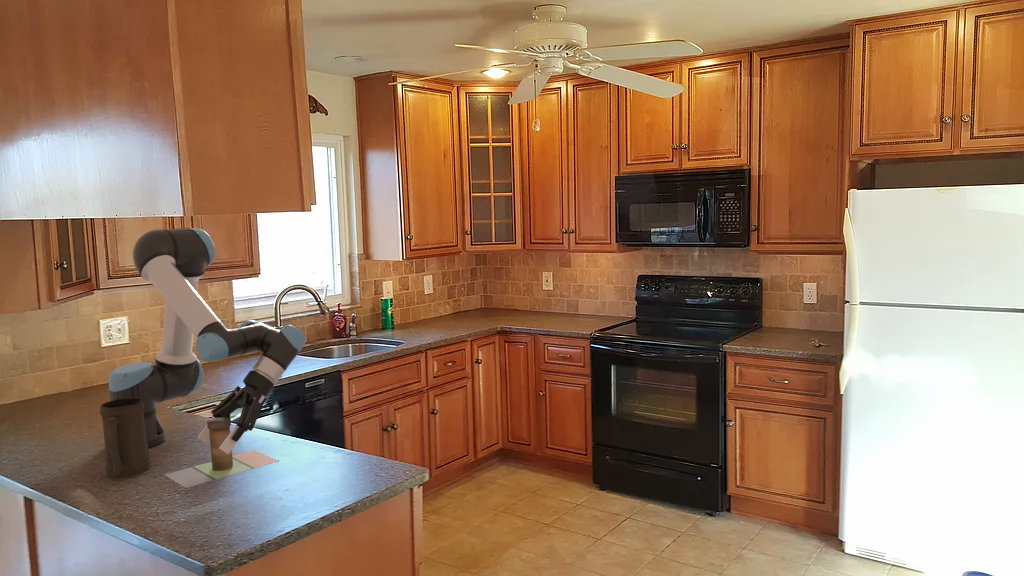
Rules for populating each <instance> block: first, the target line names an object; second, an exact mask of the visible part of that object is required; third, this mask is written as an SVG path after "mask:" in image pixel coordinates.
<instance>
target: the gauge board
mask: <svg viewBox="0 0 1024 576" xmlns="http://www.w3.org/2000/svg"><path fill="white" fill-rule="evenodd" d="M232 459H233V467H232V468H230V469H227V470H223V471H214V470H212V461H210V462H206V463H201V464H197V465H195V466H191V467H187V468H184V469H180V470H175V471H173V472H169V473H165V474H164V476H165V477H167V478H168V479H170V480H172V481H174V482H175V483H176V484H179V485H180V486H181V487H183V488H184V489H188V488H191V487H195V486H198V485H201V484H205V483H209V482H211V481H215V480H218V479H222V478H225V477H228V476H232V475H233V476H234V475H235V474H240V473H242V472H245V471H249V470H253V469H256V468H259V467H262V466H266V465H270V464H273V463H276V462H277V463H279V462H280V460H278V459H276V458H275V457H271V456H270V455H267V454H265V453H262V452H260V451H258V450H256V449H252V450H249V451H245V452H242V453H239V454H238V453H237V454H234V455H232Z"/></svg>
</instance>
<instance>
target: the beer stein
mask: <svg viewBox="0 0 1024 576" xmlns="http://www.w3.org/2000/svg"><path fill="white" fill-rule="evenodd" d="M99 415H100V416H101V420H102V428H103V438H104V439H103V440H104V453H105V455H104V457H105V464H104V469H105V477H106V478H111V479H121V478H129V477H134V476H137V475H140V474H143V473H145V472H147V471H149V470H150V469H151V461H150V460H151V458H150V451H149V447H148V443H147V434H146V425H145V421H144V404H143V401H142V399H140V398H124V399H117V400H113V401H111V400H109V401H106V402H104V403H102V404H101V405H100V408H99Z"/></svg>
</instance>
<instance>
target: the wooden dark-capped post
mask: <svg viewBox="0 0 1024 576" xmlns="http://www.w3.org/2000/svg"><path fill="white" fill-rule="evenodd" d="M206 425H207V427H208V429H209V436H210V439H209V445H210V446H209V447H210V456H211V457H210V458H211V462H212V470H214V471H223V470H227V469H230V468H232V467H233V459H232V456H233V449H232V450H231V451H230V453H229V454H227V453H225V452H224V451H222V450H221V449H219V447H220V446H221V445H222V443H223V442H224V440H225V439H226V438H227V436H228V435H229V434H230V432H231V425H232V421H231V418H230V417H228V416H226V417H221V418H214V419H211V418H210V419H209V420H207V423H206Z"/></svg>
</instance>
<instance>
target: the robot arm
mask: <svg viewBox="0 0 1024 576" xmlns="http://www.w3.org/2000/svg"><path fill="white" fill-rule="evenodd" d="M215 258H216V248H215V244H214V241H213V239H212V238H211V236H210V234H209V233H207V232H206V230H204V229H201V228H199V227H198V228H197V227H184V228H183V227H181V228H168V229H167V228H166V229H165V228H164V229H161V228H160V229H152V230H150V231H149V230H148V231H147V232H145V233H143V234H142V235H141V236H140V237H139V238H138V239H137V240H136V242H135V244H134V247H133V250H132V261H133V264H134V267H135V269H136V271H137V273H138V274H139V276H141V278H142V280H144V281H146V282H148V283H151V284H152V285H153V286H154V287H155V289H156V290H157V291H158V292H159V294H160V295H161V296H162V298H163V299H164V300H165V301H164V302H165V305H164V314H163V315H164V316H163V330H162V341H161V350H160V351H158V352H157V353H156V354H155V357H154V358H155V359H154V360H155V361H154V364H152V363H151V362H150V361H139V362H136V363H129V364H125V365H122V366H120V367H118V368H115V369H114V370H112V371H111V372H110V373H109V375H108V389H109V398H110V401H113V400H117V399H124V398H140V399H142V401H143V404H144V421H145V425H146V434H147V443H148V448H151V447H155V446H157V445H160V444H162V443H163V442H165V441H166V439H167V438H166V431H165V429H164V426H163V424H162V423H161V420H160V418H159V416H158V414H157V404H159V403H163V402H166V401H170V400H174V399H178V398H184V397H186V396H188V395H192V394H194V393H196V392H197V391H198V390H199V389H200V387H201V386H202V384H203V381H204V373H205V371H204V368H203V365H202V362H201V361H204V362H205V363H210V362H213V363H214V362H220V361H223V360H225V359H231V358H234V357H240V356H244V355H248V354H252V353H256V352H258V353H261V355H260V356H259V358H258V359H257V360H256V362H255V363H254V364H253V366H252V369H251V370H249V371H248V373H247V374H246V375H245V376H244V378H243V380H242V382H243V383H244V386H243V388H241V387H240V386H239V385H237V386H236V387H235V388H234V389H233V391H232V392H230V394H228V395H227V396H226V397H225V398H224V399H223V400H221V402H220V403H218V405H217V406H215V407H214V408H213V409H212V410H211V411H210V413H211V414H212V415H211V416H212V417H211V418H210V420H211V419H214V418H221V417H228V416H229V415H231V414H232V413H233V412H235V411H236V410H238V409H241V411H240V416H239V420H238V422H237V423H236V424H235V426H234V427H233V428H232V429H231V430H230V434H229V435H228V436H227V438H226V439H225V440H224V442H223V443H222V445H221V446H220V447H219V449H221V450H222V451H224V452H225V453H227V454H229V453H230V451H231V450H232V451H233V448H234V447H235V446H236V444H237V443H238V442H239V440H240V439H241V437H242V436H243V435H244V433H246V432H248V431H250V432H252V430H253V429H254V428H255V426H256V422H257V420H258V419H259V415H260V412H261V411H262V408H263V406H264V404H265V403H266V401H267V399H268V398H267V396H269V394H270V393H271V391H272V389H273V388H274V387H275V385H274V384H277V383H278V381H279V380H280V379H281V378H282V377H283V375H284V373H285V372H286V370H287V369H288V368H289V366H290V365H291V364H292V362H293V361H294V359H295V358H296V357H297V356H298V354H299V353H301V351H302V349H303V347H304V345H305V344H306V342H307V337H306V335H305V333H303V332H302V331H301V330H300V329H299V328H297V327H295V326H294V325H291V324H285V325H283V326H282V327H281V328H280V329H277V328H274V327H272V326H270V325H267V324H265V323H263V322H262V321H258V320H254V319H247V320H245V321H244V322H242V323H241V324H240V325H239V327H235V328H229V329H228V328H227V326H225V324H224V322H222V321H221V320H220V318H219V317H218V316H217V315H216V314H215V312H214V311H213V310H212V309H211V307H209V305H208V304H207V303H206V302H205V300H204V299H203V298H202V297H201V296H200V294H199V293H198V290H199V280H200V279H202V278H203V277H204V276H205V273H206V267H208V266H210V265H211V264H212V263H213V262H214V261H215ZM194 337H195V338H196V340H195V344H194ZM193 346H195V351H196V352H197V354H195V353H194V352H193ZM197 356H198V357H199V359H201V361H200V360H199V359H198V358H197ZM196 438H197V439H198V440H200V441H201V442H202V443H205V444H207V443H208V442H209V441H210V436H209V429H208V427H207V424H206V425H205V426H204V428H203V429H202V431H200V433H199V434H198V435H197V437H196Z"/></svg>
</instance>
